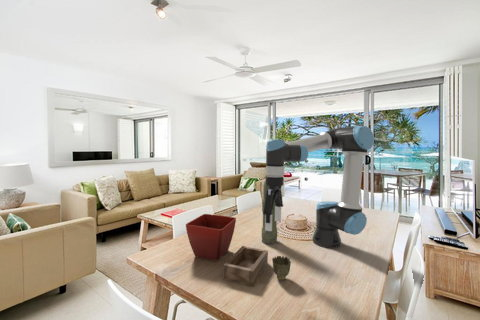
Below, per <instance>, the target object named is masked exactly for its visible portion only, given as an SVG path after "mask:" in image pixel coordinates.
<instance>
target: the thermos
mask: <svg viewBox="0 0 480 320" xmlns="http://www.w3.org/2000/svg"><path fill="white" fill-rule="evenodd" d="M263 182H264V183H263V193H262V194H263V197H262V201H261V211H262V227H261V242H262V244H265V245H275V244H277V243H278V227H277V224H278V223H277V222H278V221H275V206H276V204H275V201H274V205H273V210H272V214H271V215H272V231H267V230H265V214H263V212H264V206H265V200H266V192H267V189H269V188H270V186H267V185H266V180H264V181H263ZM276 207H277V206H276Z"/></svg>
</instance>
